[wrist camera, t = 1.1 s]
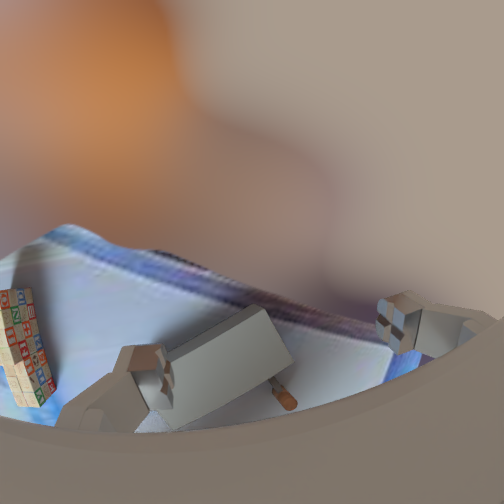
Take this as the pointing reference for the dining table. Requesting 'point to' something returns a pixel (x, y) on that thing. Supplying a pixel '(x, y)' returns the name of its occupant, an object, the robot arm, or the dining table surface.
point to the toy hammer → (283, 395)
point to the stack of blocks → (23, 349)
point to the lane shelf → (224, 364)
